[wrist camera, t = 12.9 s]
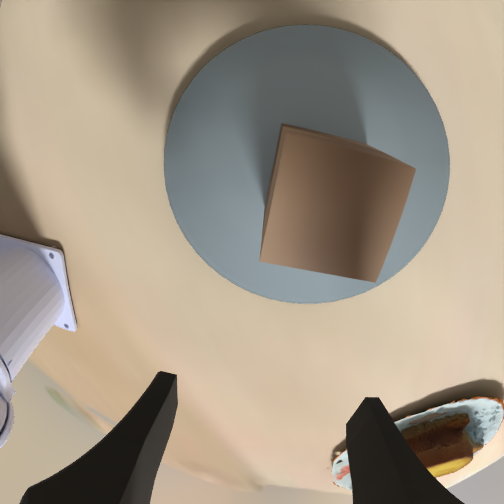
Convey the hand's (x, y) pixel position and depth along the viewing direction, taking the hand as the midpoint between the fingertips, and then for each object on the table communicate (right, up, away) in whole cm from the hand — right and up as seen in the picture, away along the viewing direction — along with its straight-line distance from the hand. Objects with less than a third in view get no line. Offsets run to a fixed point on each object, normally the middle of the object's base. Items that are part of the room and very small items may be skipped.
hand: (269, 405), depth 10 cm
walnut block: (+3, +10, +5) cm, 11 cm away
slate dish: (+3, +10, +6) cm, 12 cm away
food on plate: (+22, -20, +20) cm, 36 cm away
